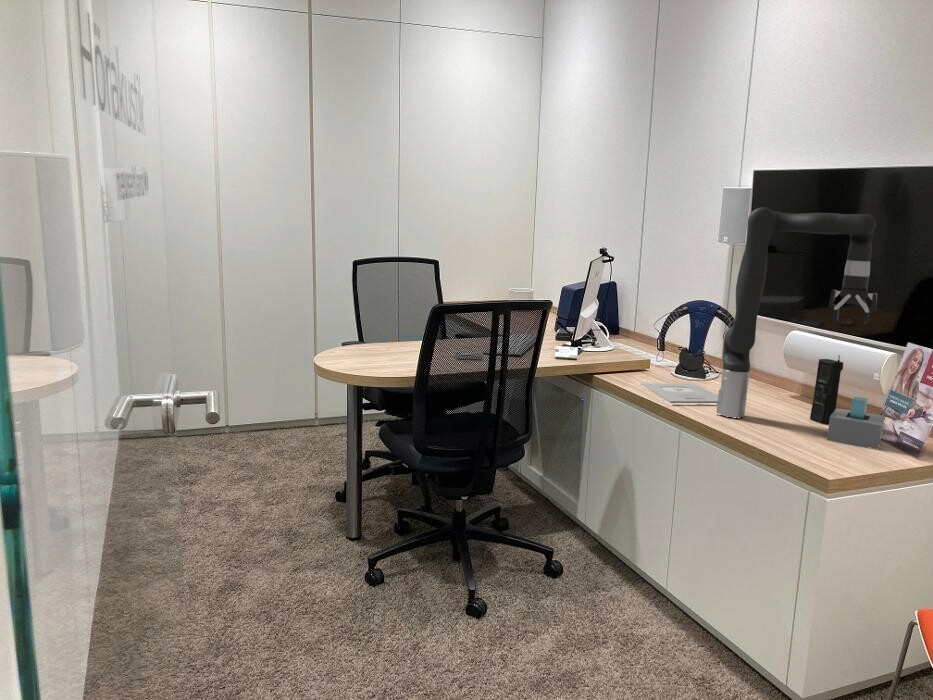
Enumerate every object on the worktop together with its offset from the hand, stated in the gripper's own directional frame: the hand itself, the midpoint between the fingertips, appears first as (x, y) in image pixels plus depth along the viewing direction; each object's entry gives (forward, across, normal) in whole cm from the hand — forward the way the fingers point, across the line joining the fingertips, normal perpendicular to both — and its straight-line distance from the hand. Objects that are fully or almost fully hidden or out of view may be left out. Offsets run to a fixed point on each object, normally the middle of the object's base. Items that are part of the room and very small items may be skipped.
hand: (850, 322), depth 249 cm
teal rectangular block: (+37, +7, -8) cm, 39 cm away
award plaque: (+39, -58, +13) cm, 71 cm away
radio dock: (+38, +7, -8) cm, 40 cm away
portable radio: (+38, -6, +10) cm, 40 cm away
